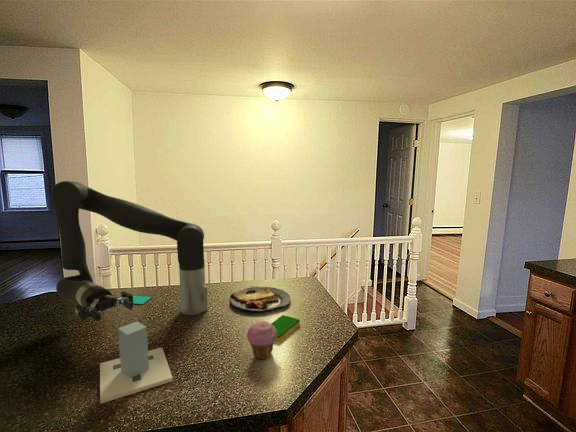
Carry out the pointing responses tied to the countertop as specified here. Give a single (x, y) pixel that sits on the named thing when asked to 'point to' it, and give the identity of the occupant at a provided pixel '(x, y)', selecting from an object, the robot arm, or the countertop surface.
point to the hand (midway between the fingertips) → (115, 311)
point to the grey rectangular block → (133, 349)
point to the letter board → (120, 385)
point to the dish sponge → (285, 326)
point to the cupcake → (262, 338)
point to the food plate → (259, 298)
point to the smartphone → (139, 300)
